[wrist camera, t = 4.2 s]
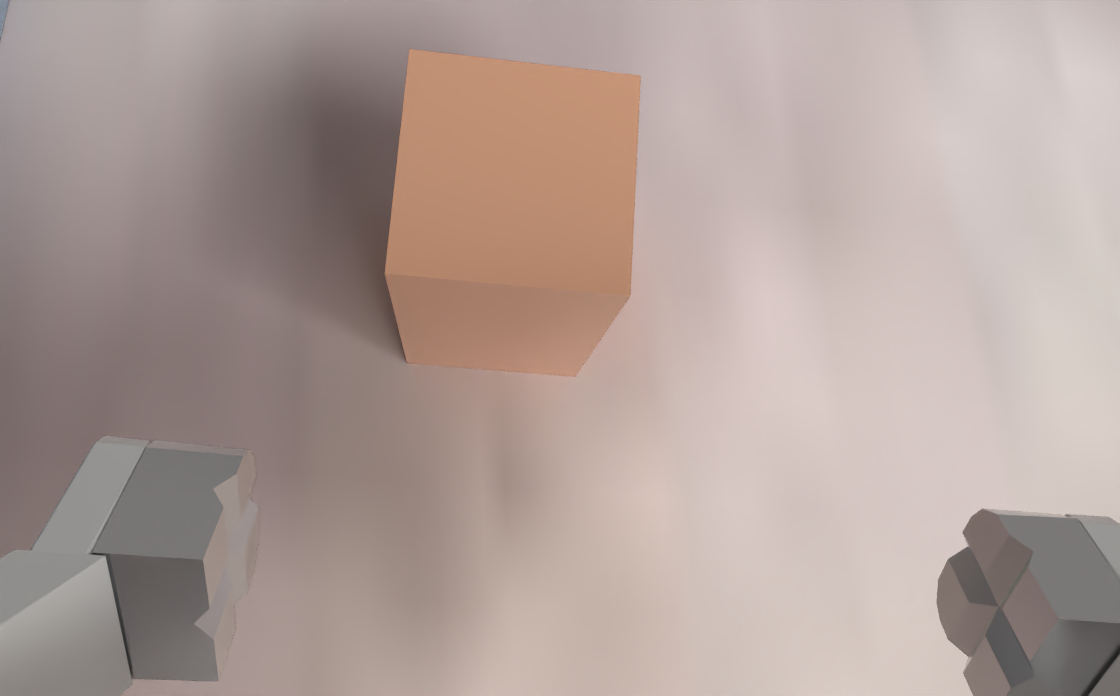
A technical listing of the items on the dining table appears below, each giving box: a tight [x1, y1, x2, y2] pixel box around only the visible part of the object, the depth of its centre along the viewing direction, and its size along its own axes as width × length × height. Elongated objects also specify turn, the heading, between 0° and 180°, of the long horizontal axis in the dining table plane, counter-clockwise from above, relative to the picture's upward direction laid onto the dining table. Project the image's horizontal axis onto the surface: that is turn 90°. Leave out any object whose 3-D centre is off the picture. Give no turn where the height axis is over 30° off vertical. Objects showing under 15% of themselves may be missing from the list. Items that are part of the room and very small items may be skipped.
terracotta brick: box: [385, 49, 641, 377], centre depth 21 cm, size 4×4×8 cm
